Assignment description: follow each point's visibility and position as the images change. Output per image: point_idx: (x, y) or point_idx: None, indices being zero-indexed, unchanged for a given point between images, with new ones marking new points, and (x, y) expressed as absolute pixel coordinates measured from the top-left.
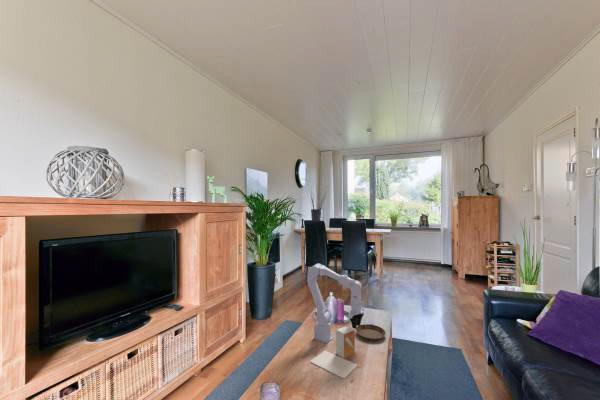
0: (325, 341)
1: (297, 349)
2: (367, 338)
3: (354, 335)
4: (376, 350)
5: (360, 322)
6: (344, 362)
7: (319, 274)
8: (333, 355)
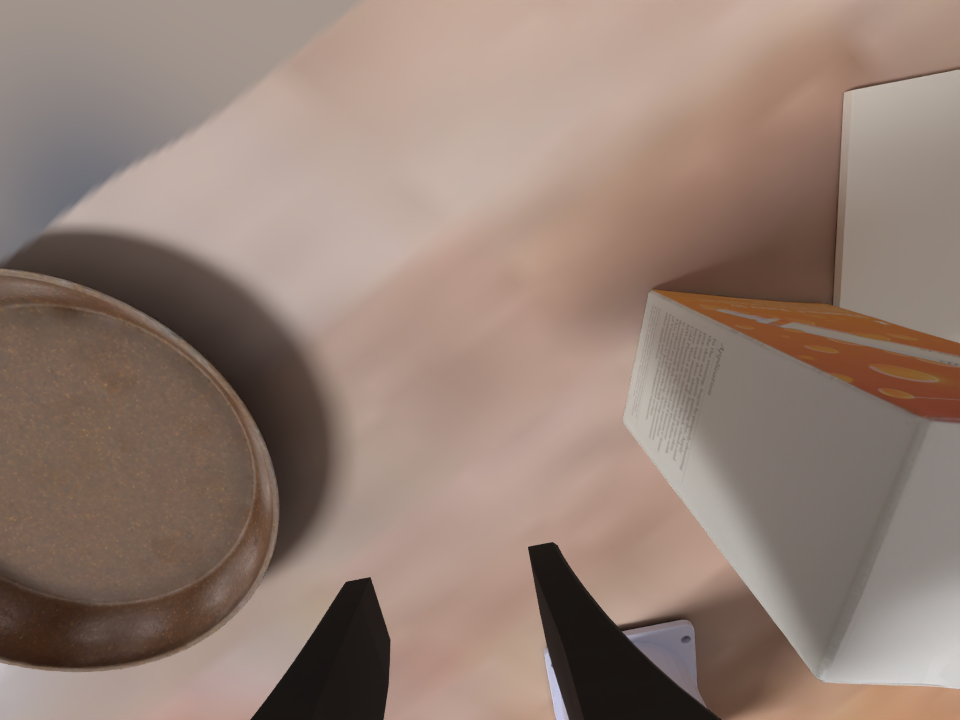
0: (679, 641)
1: None
2: (242, 401)
3: (830, 368)
4: (335, 156)
5: (327, 638)
6: (903, 242)
7: None
8: None
